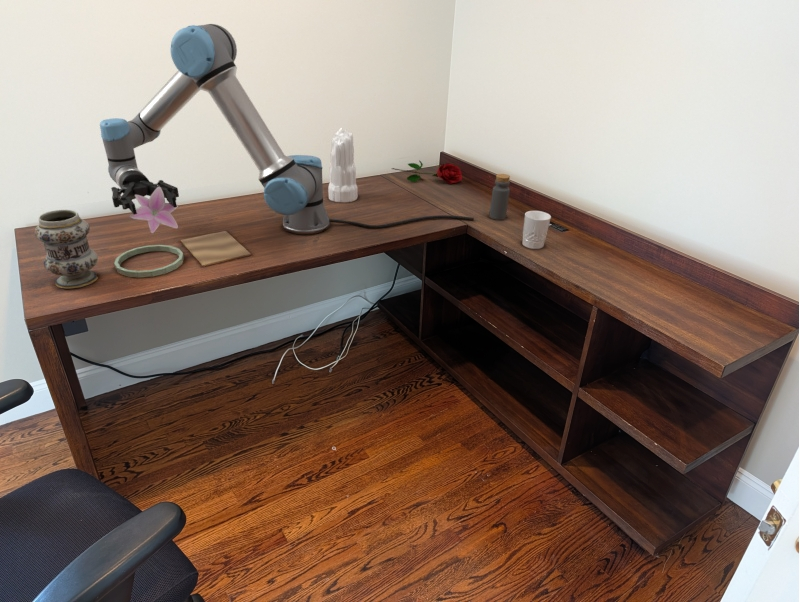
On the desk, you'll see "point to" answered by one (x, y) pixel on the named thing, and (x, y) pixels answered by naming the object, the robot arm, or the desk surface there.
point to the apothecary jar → (67, 248)
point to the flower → (438, 173)
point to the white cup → (535, 229)
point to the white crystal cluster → (342, 168)
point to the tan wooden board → (215, 248)
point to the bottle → (500, 197)
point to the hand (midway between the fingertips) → (154, 205)
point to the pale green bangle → (148, 272)
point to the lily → (155, 210)
